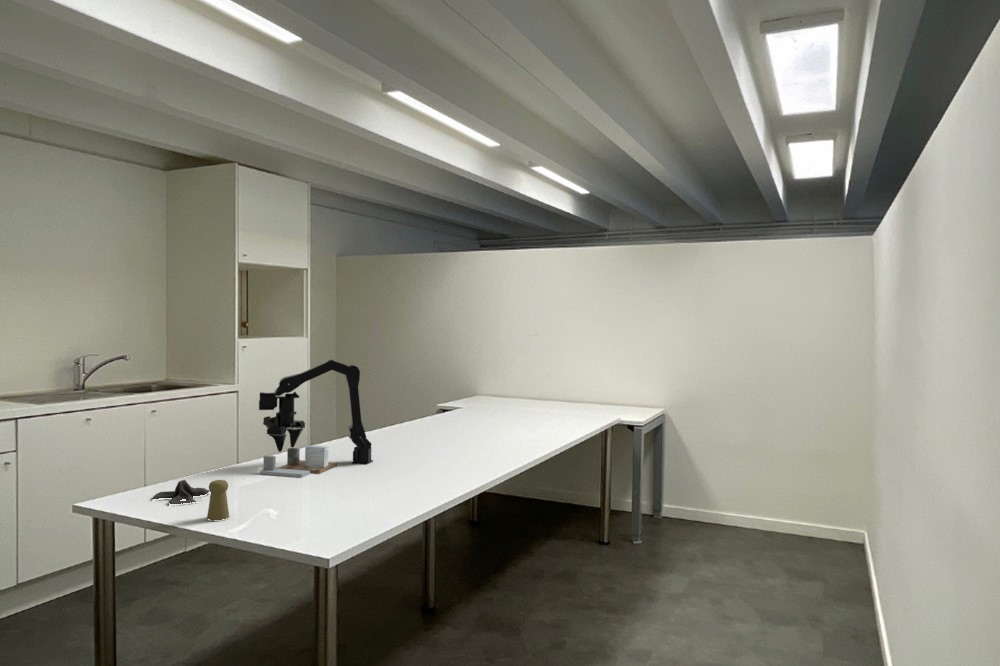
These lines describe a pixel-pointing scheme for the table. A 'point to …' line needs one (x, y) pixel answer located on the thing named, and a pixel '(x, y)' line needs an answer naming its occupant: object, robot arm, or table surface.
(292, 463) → the brown wooden frame
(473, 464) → the table surface
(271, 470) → the grey strip
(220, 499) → the cork
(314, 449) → the medicine box
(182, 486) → the cloth
